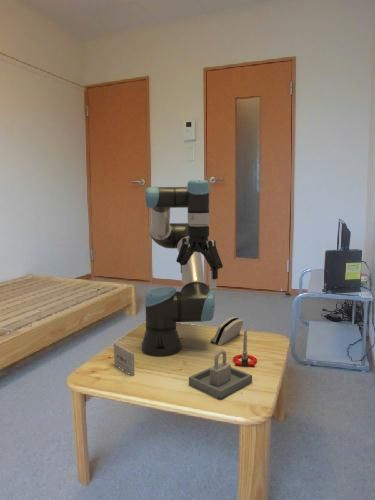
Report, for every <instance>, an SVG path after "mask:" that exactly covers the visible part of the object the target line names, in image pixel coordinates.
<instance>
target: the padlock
mask: <svg viewBox="0 0 375 500" xmlns="http://www.w3.org/2000/svg"><path fill="white" fill-rule="evenodd" d="M214 355H215V356H214V364H213V366H211V367H212V368H211V367H209V368H210V384H213V385H216V386H219V385H221V384H224V383H226V382H227V381H228V380H229V379H230V378H231V367H232V366H231V365H232V364H231V363H228V362H227V351H226V350H224V349H219V350H218V351H217V352H216V353H215V354H214ZM220 355H222V361H221V362H219V357H220Z"/></svg>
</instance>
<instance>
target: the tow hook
mask: <svg viewBox="0 0 375 500" xmlns="http://www.w3.org/2000/svg"><path fill="white" fill-rule="evenodd" d="M243 332H244V334H243V346H242V349H243V350H242V354H238V355H233V357H232V361H233V362H234V366H238V367H250V368H251V367H255V366H256V365H255V364H256V363H257V362H258V358H257V357H256V356H253V355H251V354H248V335H247V332H248V331H247V329H244V330H243ZM240 359H241V360H240ZM249 359H250V361H249Z"/></svg>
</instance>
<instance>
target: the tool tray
mask: <svg viewBox="0 0 375 500" xmlns="http://www.w3.org/2000/svg"><path fill="white" fill-rule="evenodd" d="M212 367H213V366H211V367H208V368H207V369H204V370H202V371H200V372H198V373H195V374H193V375H191V376H189V377H188V386H190V387H192V388H194V389H197V390H199V391H200V392H203V393H205V394H207V395H209V396H210V397H211V396H212V397H213V398H215V399H218V400H220V401H222V400H223V399H226V398H227V397H229V396H231V395H232V394H235V393H236V392H238V391H240V390H241V389H243V388H245V387H247V386H249V385H251V384H252V383H253V374H250V373H247V372H245V371H242V370H240V369H237V368H235V367H233V366H231V378H230V379H229V380H228V381H227V382H226V383H224V384H221V385H219V386H216V385H213V384H210V368H212Z"/></svg>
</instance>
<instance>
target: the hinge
mask: <svg viewBox="0 0 375 500" xmlns="http://www.w3.org/2000/svg"><path fill="white" fill-rule="evenodd" d="M243 325H244V320H242V319H241V318H239V317H237V316H230V317H229V318H227V319H226V320H224V321H223V322H222V323H220V324H219V326H218V328H217V330H216V333H215V334H214V337H212V338H211V339H210V341H209V343H210V344H212V343H215V344H216V343H217V346H222V345H223V344H226V343H228V342H229V341H230V340H232V339H234V338H235V337H236V336H238V334H239V335H240V334H241V331H242V328H243Z"/></svg>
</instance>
